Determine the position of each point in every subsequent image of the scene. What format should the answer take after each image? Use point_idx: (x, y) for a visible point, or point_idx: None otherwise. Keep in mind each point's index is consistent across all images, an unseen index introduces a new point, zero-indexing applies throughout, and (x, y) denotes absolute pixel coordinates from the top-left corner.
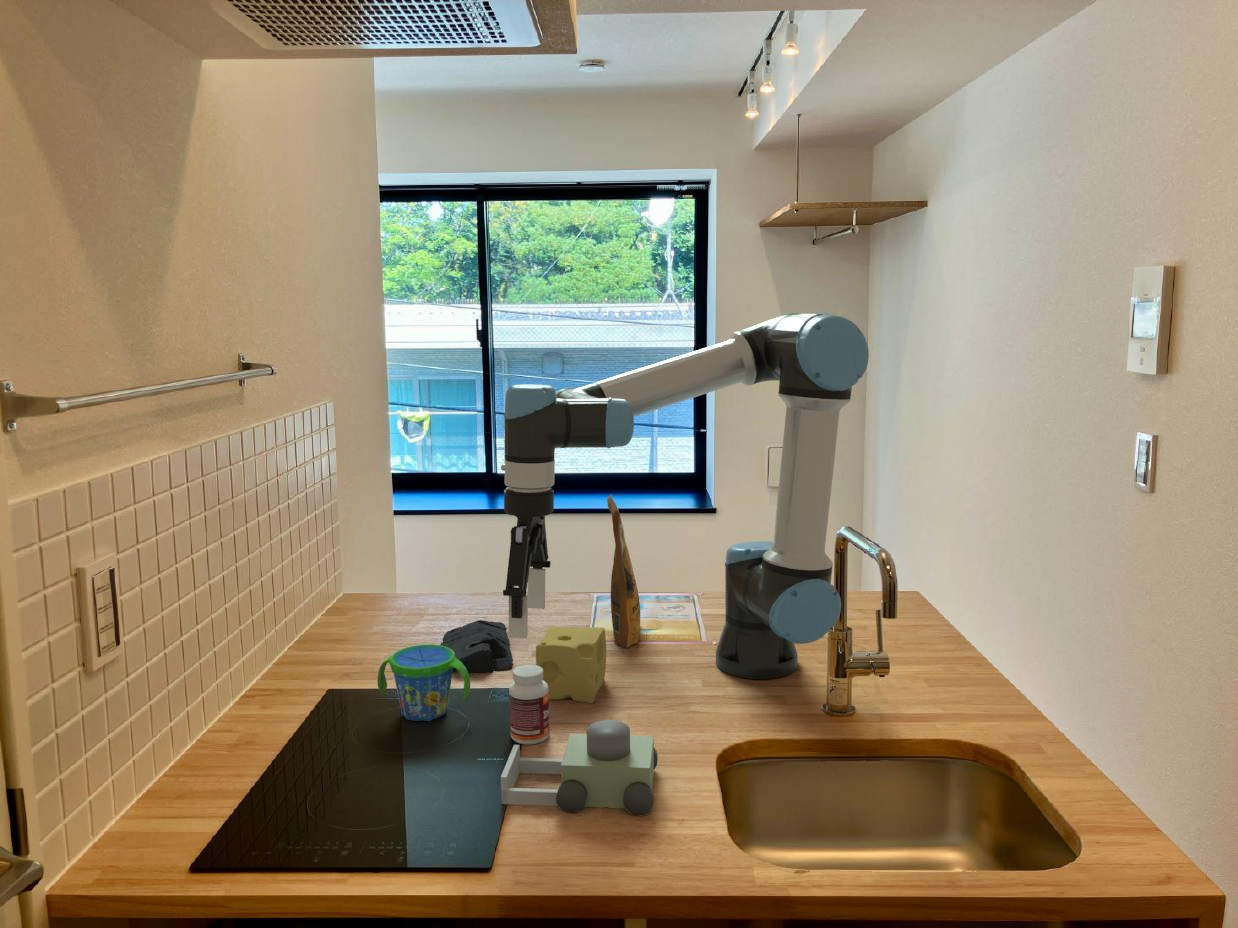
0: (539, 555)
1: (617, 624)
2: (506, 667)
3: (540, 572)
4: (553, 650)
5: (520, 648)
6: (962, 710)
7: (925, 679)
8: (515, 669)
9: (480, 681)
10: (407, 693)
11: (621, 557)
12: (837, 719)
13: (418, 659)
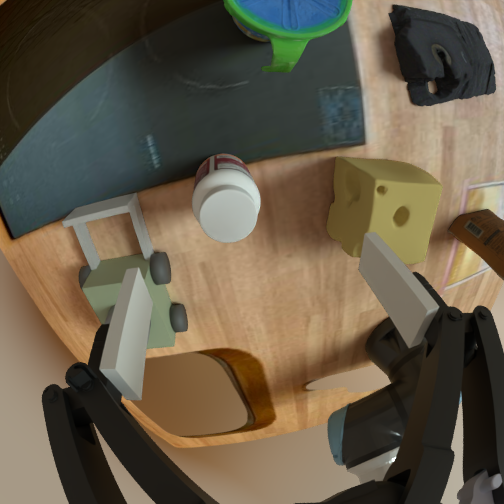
0: (418, 394)
1: (472, 228)
2: (413, 98)
3: (409, 333)
4: (367, 207)
5: (459, 110)
6: (310, 416)
7: (351, 401)
8: (228, 193)
9: (377, 67)
10: None
11: None
12: (297, 387)
13: None
